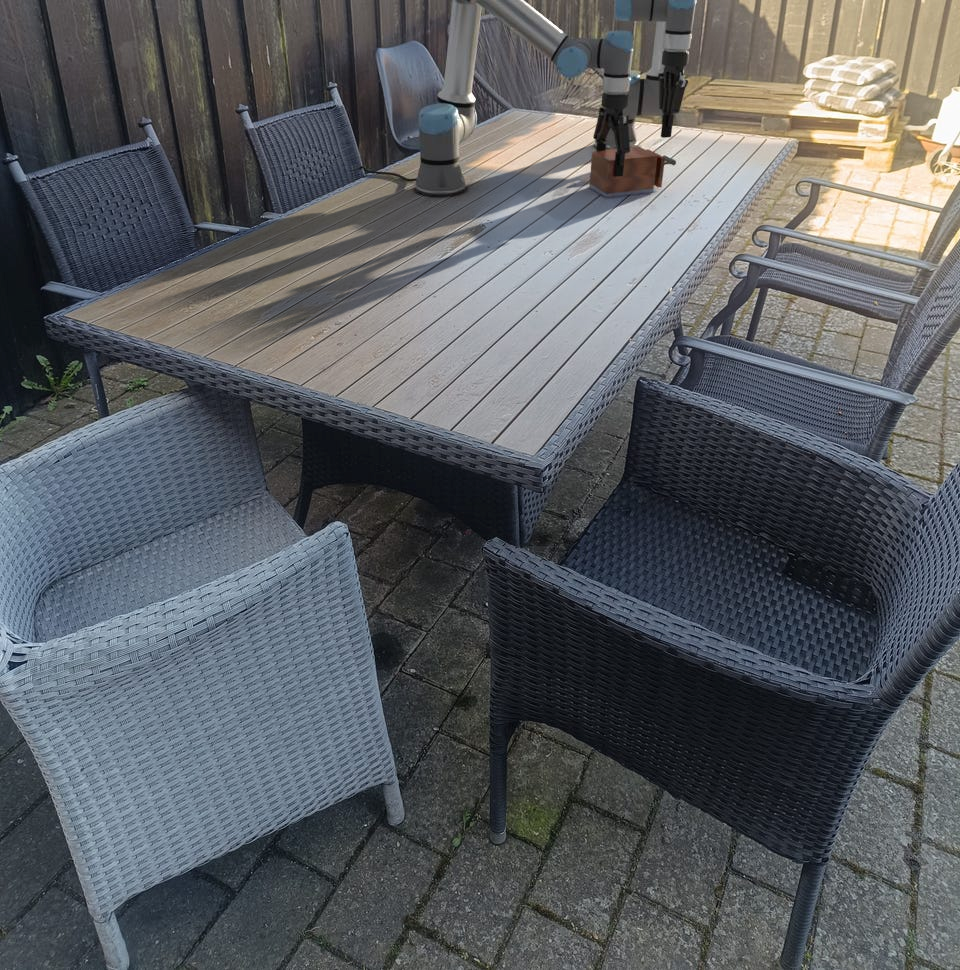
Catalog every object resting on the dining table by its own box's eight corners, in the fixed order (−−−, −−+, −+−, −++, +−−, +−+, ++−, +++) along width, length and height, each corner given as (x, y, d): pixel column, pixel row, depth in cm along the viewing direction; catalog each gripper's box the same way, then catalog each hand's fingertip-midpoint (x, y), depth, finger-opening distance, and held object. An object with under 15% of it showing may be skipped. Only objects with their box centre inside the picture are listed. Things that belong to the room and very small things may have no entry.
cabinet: (635, 181, 265) (639, 146, 259) (653, 192, 257) (657, 155, 250) (589, 187, 261) (591, 151, 254) (606, 197, 252) (609, 160, 246)
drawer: (660, 176, 267) (663, 147, 262) (676, 185, 259) (680, 155, 254) (603, 183, 261) (605, 153, 256) (618, 192, 253) (621, 162, 248)
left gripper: (647, 99, 233) (639, 180, 246) (608, 83, 251) (602, 159, 264) (623, 101, 231) (616, 182, 244) (585, 85, 249) (580, 161, 262)
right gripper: (700, 52, 237) (688, 140, 250) (675, 45, 246) (665, 131, 260) (676, 54, 234) (665, 143, 248) (653, 47, 244) (644, 133, 258)
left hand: (608, 170), depth 254 cm, fingers closed on cabinet, 11 cm apart
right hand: (665, 136), depth 254 cm, fingers closed
